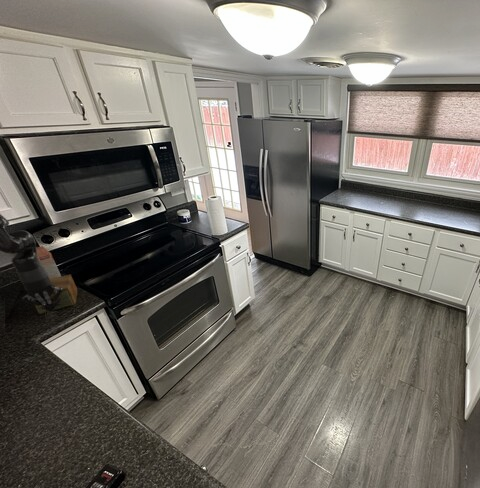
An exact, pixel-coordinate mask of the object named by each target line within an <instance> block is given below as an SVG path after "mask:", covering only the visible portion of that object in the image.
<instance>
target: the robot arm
mask: <svg viewBox="0 0 480 488" xmlns="http://www.w3.org/2000/svg"><path fill="white" fill-rule="evenodd" d="M9 225H10V221H9V220H8V219H7V218H6V217H4V215H2V214H1V213H0V252H2V253H4V254H8V255H9V254H10V255H11V254H12V255H13V254H15V255H14V256H13V257H12V259H11V263H12V265H13V267H14V268H15V270H16V273H17V275H18V278H19V280H20V282H21V283H22V285H23V286H24V289H25V291H26V295H24V296H23V297H22V299H21V301H22V302H25V303H27V304H30V305H33V306H35V305H36V306H39V305H43V306H44V307H45V309H46V310H47V311H49V312H53V311H55V310H54V309H55V305H54V303H53V302H55V301H57V299H58V297H59V296H60V294H61V292H62V290H63V288H62V287H60V288H56V287H55V286H54V285H52V283H51V281H50V279H49V277H48V275H47V273H46V271H45V269H44V268H43V267H42V265H41V263H40V261H39V259H38V257H37V249H36V248H37V241H36V239H35V237H34V236H33V234H31V233H30V232H28V231H26V230H23V229H19V230H15V231H12V232H10V233H8V232H7V230H6V228H7V227H9ZM54 290H55V293H56V294H55V296H54V298H52V297H51V295H52V293H53V291H54ZM32 297H33V298H32ZM34 298H36V299H34ZM37 299H38V300H37Z"/></svg>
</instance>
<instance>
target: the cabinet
mask: <svg viewBox="0 0 480 488" xmlns="http://www.w3.org/2000/svg"><path fill="white" fill-rule="evenodd" d="M50 281H51V283H52V285H54V286H55V287H56V288H60V287H62V288H63V290H67V292H68V294H69V296H70V298H71V300H72V302H73V305H70V306H74V305H76V304H77V297H78V288H77V285H76V283H75V281H74V279H73V276H72V274H70V273H69V274H66V275H61V277H56V278H52V279H50ZM63 290H62V291H63ZM53 293H55V290H54V291H53ZM32 298H33V297H32ZM70 306H69V307H70ZM34 307H35V309H36V311H37V313H38V314H39V315H41V314H43V313H41V314H40V313H39V311H38V310H37V308H36V306H35V305H34ZM59 309H61V308H59ZM59 309H58V310H59ZM48 312H49V311H48ZM48 312H47V313H48Z"/></svg>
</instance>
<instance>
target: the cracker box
mask: <svg viewBox="0 0 480 488" xmlns="http://www.w3.org/2000/svg"><path fill="white" fill-rule="evenodd" d="M36 249H37V257H38V259H39V261H40V263H41V265H42V267H43V268H44V269H45V271H46V273H47V275H48V277H49V279H52V278H56V277H61V276H62V275H61V272H60V270H59V268H58V265H57V264H56V261H55V260H54V256H53V255H52V253H51V252H50V251H49V250H48V249H47V248H45V246H43V245H42V246H38V247H37V246H36Z"/></svg>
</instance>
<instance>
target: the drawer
mask: <svg viewBox="0 0 480 488" xmlns="http://www.w3.org/2000/svg"><path fill="white" fill-rule="evenodd" d="M55 294H56V293H54V294H52V295H51V297H52V298H54V296H55ZM34 299H36V298H34ZM37 300H38V299H37ZM53 303H54V305H55V309H54V311H56V310H59V308H60V309H63V308H66V307H67V308H68V307H70V305H71V306H74V305H73V302H72V300H71V298H70V296H69V294H68V292H67V290H63V291H62V292H61V294H60V296H59V297H58V299H57V301H55V302H53ZM35 306H36V305H34V307H35ZM36 308H37V309H36ZM35 309H36V311H37V310H38V311H39V312H38V311H37V312H38V314H39V313H40V314H39V315H41V313H42V314H45V313H48V311H47V310H46V309H45V307H44V306H43V305H39V306H36V307H35Z"/></svg>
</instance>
